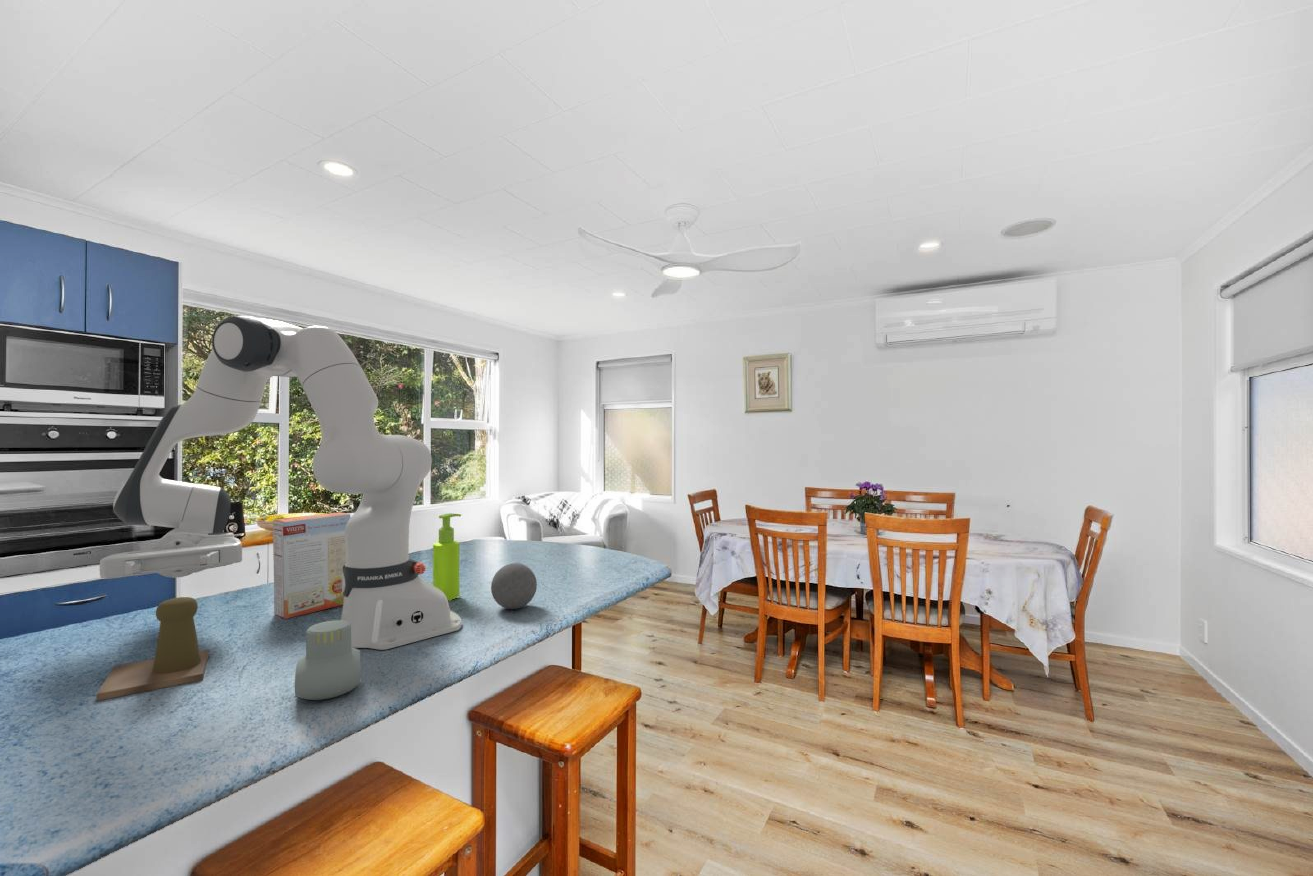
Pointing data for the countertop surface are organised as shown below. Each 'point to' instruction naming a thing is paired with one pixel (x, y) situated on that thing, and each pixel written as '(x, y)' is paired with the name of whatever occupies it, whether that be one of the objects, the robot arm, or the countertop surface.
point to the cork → (176, 636)
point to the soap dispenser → (446, 560)
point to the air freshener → (327, 662)
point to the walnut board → (147, 678)
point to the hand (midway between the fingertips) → (170, 565)
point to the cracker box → (308, 563)
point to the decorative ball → (514, 586)
